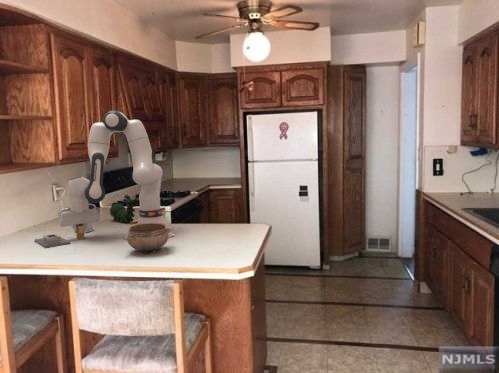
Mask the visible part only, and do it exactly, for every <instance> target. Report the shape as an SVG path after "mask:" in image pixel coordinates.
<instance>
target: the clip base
mask: <svg viewBox="0 0 499 373" xmlns="http://www.w3.org/2000/svg"><path fill="white" fill-rule="evenodd" d="M34 242H35V243H36V244H38V245H40V247H41V246H42V247H43V248H44V249H49V248H55V247H61V246H65V245H66V246H67V245H70V244H71V241H69V240H67V239H65V238H63V237H61V235H59V234H57V233H53V234H46V235H42V238H36V239H34Z"/></svg>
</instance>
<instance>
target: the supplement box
mask: <svg viewBox="0 0 499 373" xmlns="http://www.w3.org/2000/svg"><path fill="white" fill-rule="evenodd" d="M75 228H76V227H75ZM85 230H86V231H85V232H84V234H88V233H89V232H92V231H94V222H90V223H87V227H86V228H85Z"/></svg>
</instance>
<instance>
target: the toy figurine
mask: <svg viewBox="0 0 499 373" xmlns="http://www.w3.org/2000/svg"><path fill="white" fill-rule="evenodd" d="M123 198H124V199H125V200H127V202H126V207H125V206H124V205H123V204H122V203H118V202H117V203H114V204H113V205H111V207H110V209H109V215H110V216H111V217H112V218H113V220H114V221H116V222H120V223H121V224H123V223H127V222H128V223H129V222H133V221H134V217H135V216H136V215H135V214H134V212H135V211H136V209H134V207H135V204H134V203H135V201H134V200H133V199H132V198H131V196H130V195H128V194H125V195H124V197H123Z"/></svg>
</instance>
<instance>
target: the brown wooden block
mask: <svg viewBox="0 0 499 373" xmlns="http://www.w3.org/2000/svg"><path fill="white" fill-rule="evenodd" d="M76 229H78V233H75V234H76V235H75V236H76V239H78V240H80V241H81V240H84V239H85V233H84V225H83V224H77V225H76Z"/></svg>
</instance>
